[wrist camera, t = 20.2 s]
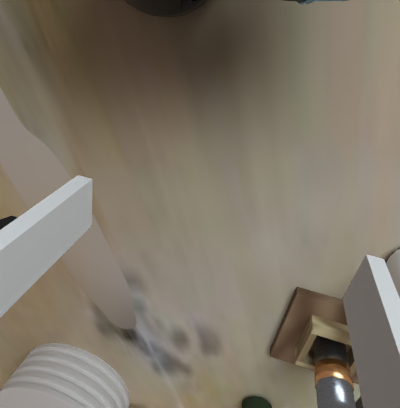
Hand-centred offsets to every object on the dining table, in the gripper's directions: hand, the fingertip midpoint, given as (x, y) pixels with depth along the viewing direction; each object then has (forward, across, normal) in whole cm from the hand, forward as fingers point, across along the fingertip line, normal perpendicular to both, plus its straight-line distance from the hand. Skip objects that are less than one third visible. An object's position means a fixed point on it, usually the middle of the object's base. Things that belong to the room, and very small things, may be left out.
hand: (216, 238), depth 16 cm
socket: (+32, +21, -35) cm, 52 cm away
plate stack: (+32, -27, -76) cm, 87 cm away
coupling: (+30, +21, -35) cm, 51 cm away
